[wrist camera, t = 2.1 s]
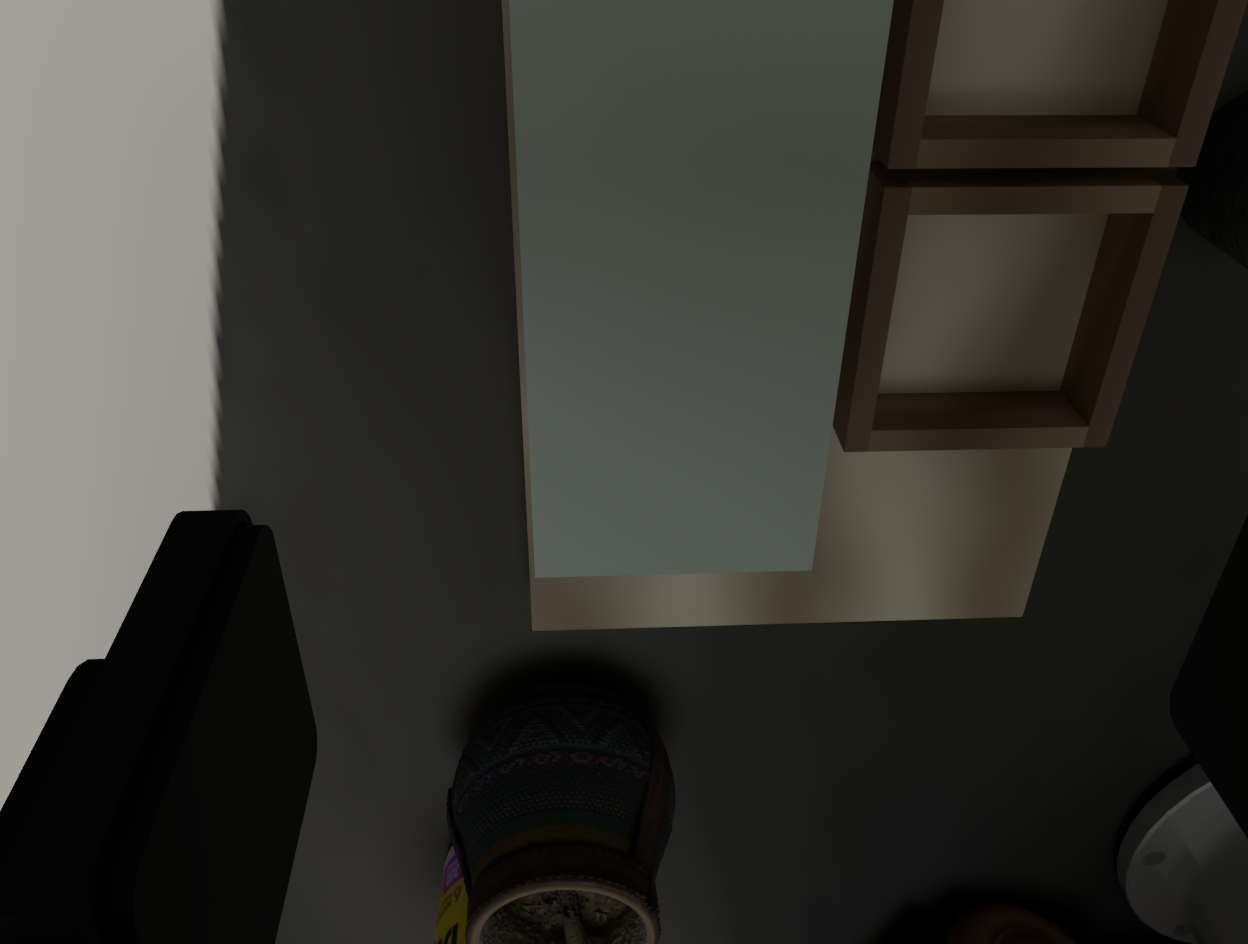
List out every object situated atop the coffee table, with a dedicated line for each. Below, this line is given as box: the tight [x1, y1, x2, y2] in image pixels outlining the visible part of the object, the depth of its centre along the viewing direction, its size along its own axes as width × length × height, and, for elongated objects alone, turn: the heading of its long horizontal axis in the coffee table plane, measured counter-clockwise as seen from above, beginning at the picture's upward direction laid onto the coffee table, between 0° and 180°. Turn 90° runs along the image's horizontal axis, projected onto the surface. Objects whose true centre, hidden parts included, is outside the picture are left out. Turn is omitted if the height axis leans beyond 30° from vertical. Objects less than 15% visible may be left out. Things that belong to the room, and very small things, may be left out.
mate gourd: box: [447, 681, 676, 944], centre depth 32 cm, size 7×8×10 cm
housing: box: [509, 0, 894, 578], centre depth 20 cm, size 6×12×7 cm, turn 179°
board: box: [502, 0, 1248, 631], centre depth 25 cm, size 15×22×4 cm
